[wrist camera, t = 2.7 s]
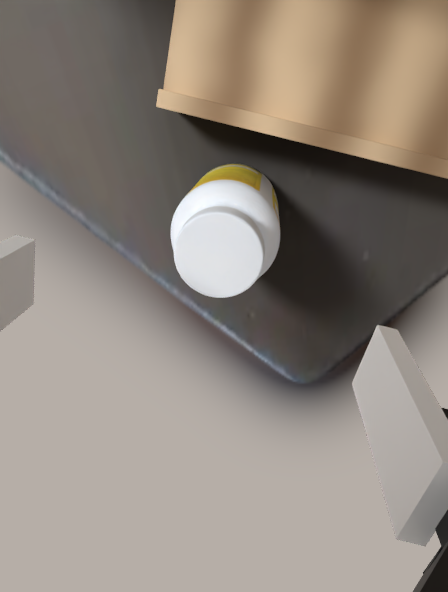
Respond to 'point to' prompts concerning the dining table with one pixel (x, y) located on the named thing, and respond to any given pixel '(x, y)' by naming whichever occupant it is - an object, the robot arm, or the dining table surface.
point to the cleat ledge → (318, 73)
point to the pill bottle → (226, 231)
